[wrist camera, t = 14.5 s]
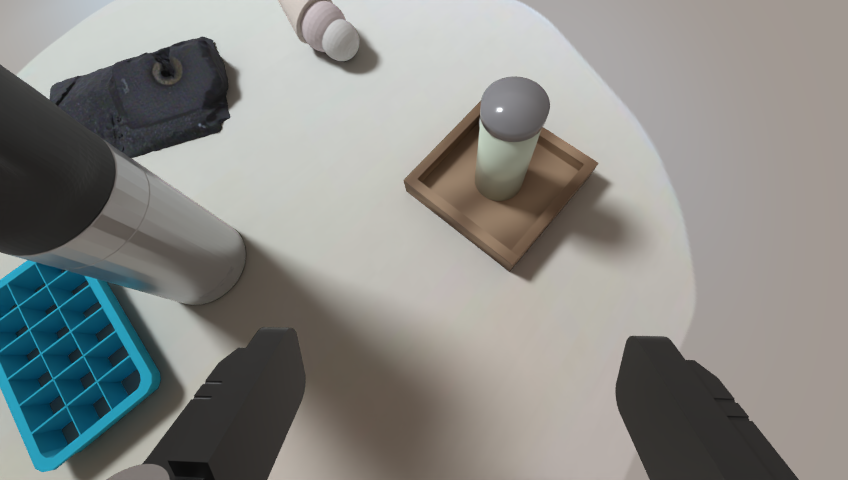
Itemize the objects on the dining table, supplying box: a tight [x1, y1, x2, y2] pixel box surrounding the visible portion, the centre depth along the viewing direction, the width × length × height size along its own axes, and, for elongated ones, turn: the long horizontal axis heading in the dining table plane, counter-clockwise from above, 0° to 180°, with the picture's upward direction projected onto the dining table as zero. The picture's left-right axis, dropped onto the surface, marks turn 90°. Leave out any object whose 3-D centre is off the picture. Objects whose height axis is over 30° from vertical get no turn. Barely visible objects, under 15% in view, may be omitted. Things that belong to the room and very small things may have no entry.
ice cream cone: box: [278, 0, 359, 61], centre depth 49 cm, size 6×6×15 cm
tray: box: [404, 101, 598, 272], centre depth 42 cm, size 14×14×2 cm
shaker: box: [475, 77, 550, 201], centre depth 36 cm, size 5×5×12 cm
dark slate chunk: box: [50, 37, 230, 158], centre depth 48 cm, size 15×22×5 cm
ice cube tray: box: [0, 260, 161, 472], centre depth 39 cm, size 12×20×3 cm, turn 41°
